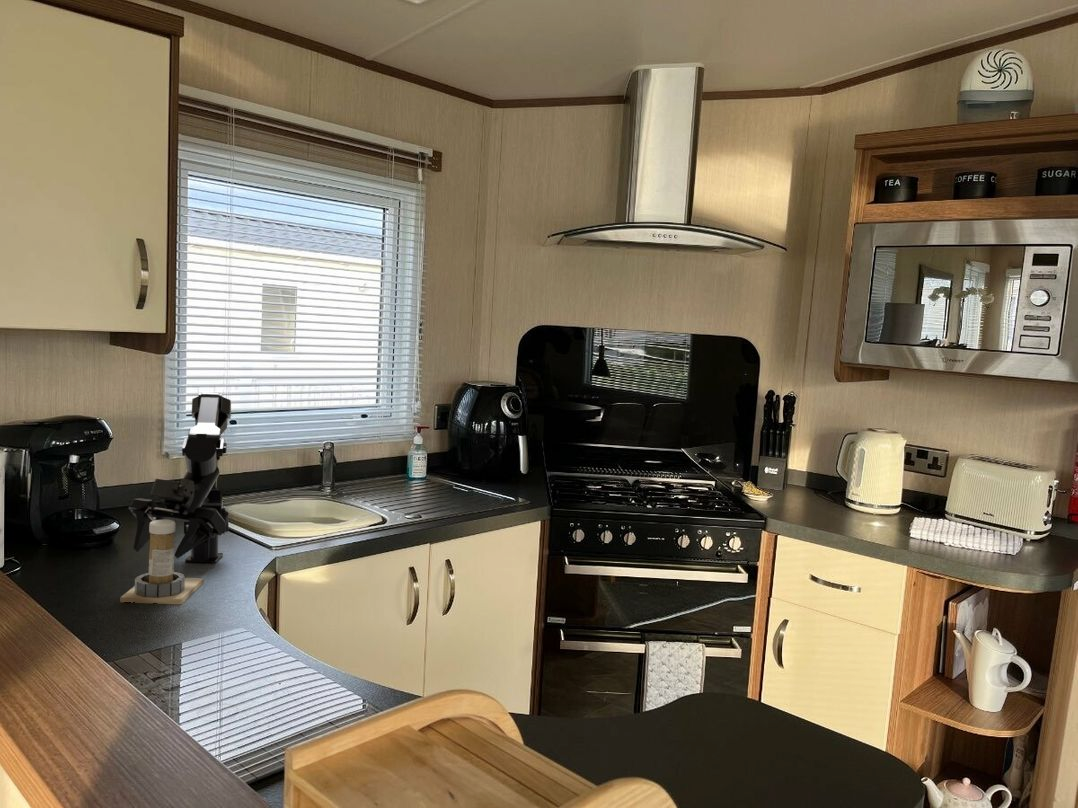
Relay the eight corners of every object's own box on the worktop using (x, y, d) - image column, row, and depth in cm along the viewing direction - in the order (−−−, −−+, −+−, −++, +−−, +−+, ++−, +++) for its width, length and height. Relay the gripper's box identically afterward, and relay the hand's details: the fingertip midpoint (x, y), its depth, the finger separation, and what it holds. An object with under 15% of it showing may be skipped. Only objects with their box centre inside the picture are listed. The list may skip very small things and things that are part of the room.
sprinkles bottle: (152, 586, 165) (154, 518, 163) (176, 586, 165) (178, 519, 164) (144, 593, 160) (146, 524, 159) (169, 594, 161) (171, 525, 160)
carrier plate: (147, 581, 171) (147, 571, 171) (203, 583, 172) (203, 573, 171) (120, 602, 158) (120, 591, 158) (181, 604, 159) (181, 594, 159)
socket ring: (145, 583, 167) (145, 570, 166) (190, 584, 167) (190, 572, 167) (127, 596, 158) (128, 583, 158) (174, 598, 159) (175, 585, 159)
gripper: (136, 457, 167) (92, 524, 157) (218, 467, 162) (177, 537, 152) (163, 490, 175) (122, 555, 165) (242, 500, 170) (205, 568, 161)
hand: (155, 553), depth 161 cm, fingers open, 9 cm apart
